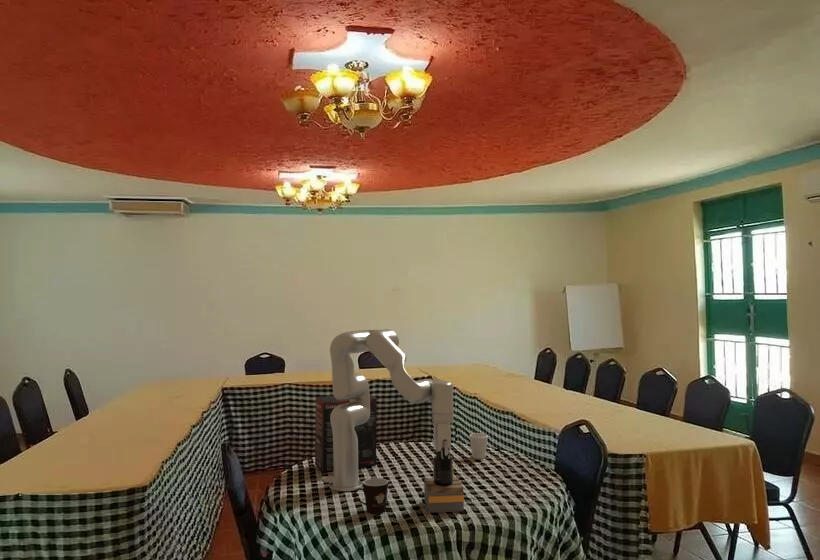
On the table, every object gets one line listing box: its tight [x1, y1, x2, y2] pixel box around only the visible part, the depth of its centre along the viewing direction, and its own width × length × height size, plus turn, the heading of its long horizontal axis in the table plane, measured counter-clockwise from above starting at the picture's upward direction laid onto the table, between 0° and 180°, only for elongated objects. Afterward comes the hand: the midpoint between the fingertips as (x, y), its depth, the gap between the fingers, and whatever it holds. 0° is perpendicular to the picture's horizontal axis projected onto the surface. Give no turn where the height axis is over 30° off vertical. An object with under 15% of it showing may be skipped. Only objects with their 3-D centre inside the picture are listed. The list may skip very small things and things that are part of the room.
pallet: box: [423, 476, 464, 493], centre depth 222 cm, size 12×12×2 cm
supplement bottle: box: [432, 449, 454, 486], centre depth 222 cm, size 7×7×12 cm
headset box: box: [314, 394, 378, 473], centre depth 274 cm, size 24×13×33 cm, turn 115°
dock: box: [423, 483, 465, 514], centre depth 222 cm, size 12×13×6 cm
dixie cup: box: [469, 432, 489, 460], centre depth 284 cm, size 8×8×10 cm
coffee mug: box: [353, 477, 389, 515], centre depth 218 cm, size 12×9×10 cm
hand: (443, 466), depth 222 cm, fingers open, 9 cm apart
